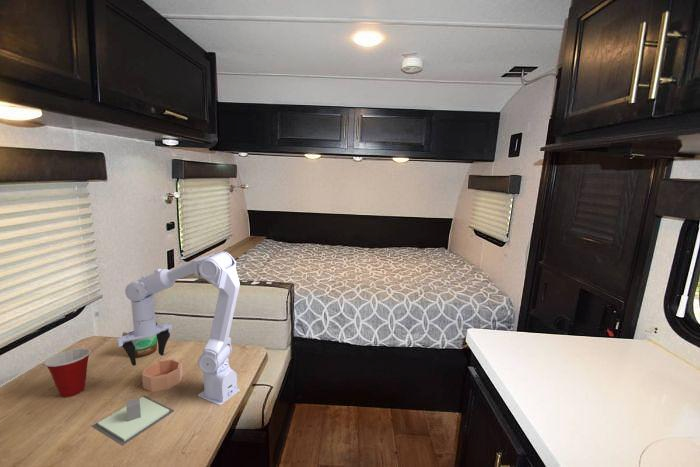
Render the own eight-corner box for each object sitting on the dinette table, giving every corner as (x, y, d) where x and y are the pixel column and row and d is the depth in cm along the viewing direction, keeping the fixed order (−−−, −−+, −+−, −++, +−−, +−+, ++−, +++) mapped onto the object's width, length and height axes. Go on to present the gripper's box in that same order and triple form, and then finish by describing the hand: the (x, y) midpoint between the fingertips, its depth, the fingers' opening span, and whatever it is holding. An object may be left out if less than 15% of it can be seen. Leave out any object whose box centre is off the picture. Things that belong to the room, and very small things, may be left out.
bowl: (188, 378, 109) (188, 364, 108) (158, 396, 100) (157, 381, 99) (168, 369, 114) (167, 356, 113) (136, 386, 104) (135, 371, 104)
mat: (174, 411, 93) (174, 410, 93) (122, 446, 81) (122, 445, 81) (144, 396, 99) (144, 395, 99) (91, 427, 87) (91, 425, 87)
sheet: (169, 411, 93) (168, 396, 92) (124, 441, 82) (122, 424, 81) (142, 398, 98) (141, 384, 97) (97, 424, 87) (95, 409, 86)
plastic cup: (89, 376, 109) (85, 342, 107) (99, 389, 102) (95, 354, 100) (45, 392, 101) (40, 355, 99) (52, 408, 94) (47, 369, 92)
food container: (130, 363, 117) (128, 337, 115) (123, 357, 120) (121, 332, 119) (166, 350, 126) (164, 325, 125) (159, 345, 130) (157, 321, 129)
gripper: (164, 307, 108) (167, 346, 110) (111, 321, 97) (116, 363, 99) (173, 313, 103) (176, 353, 105) (118, 328, 92) (123, 372, 94)
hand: (147, 359), depth 102 cm, fingers open, 7 cm apart
